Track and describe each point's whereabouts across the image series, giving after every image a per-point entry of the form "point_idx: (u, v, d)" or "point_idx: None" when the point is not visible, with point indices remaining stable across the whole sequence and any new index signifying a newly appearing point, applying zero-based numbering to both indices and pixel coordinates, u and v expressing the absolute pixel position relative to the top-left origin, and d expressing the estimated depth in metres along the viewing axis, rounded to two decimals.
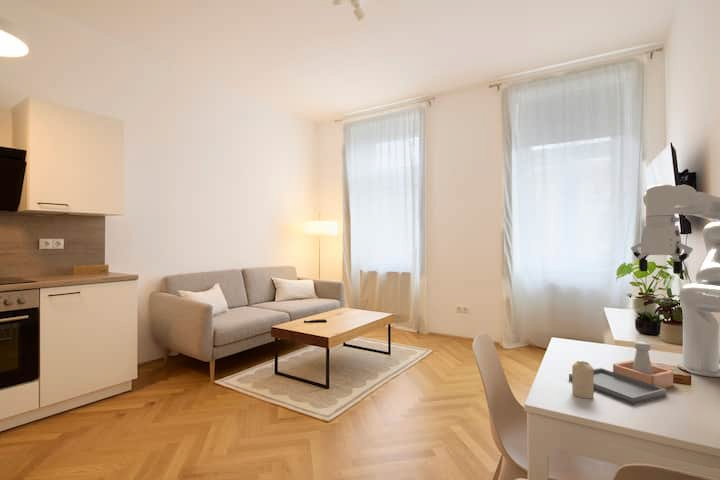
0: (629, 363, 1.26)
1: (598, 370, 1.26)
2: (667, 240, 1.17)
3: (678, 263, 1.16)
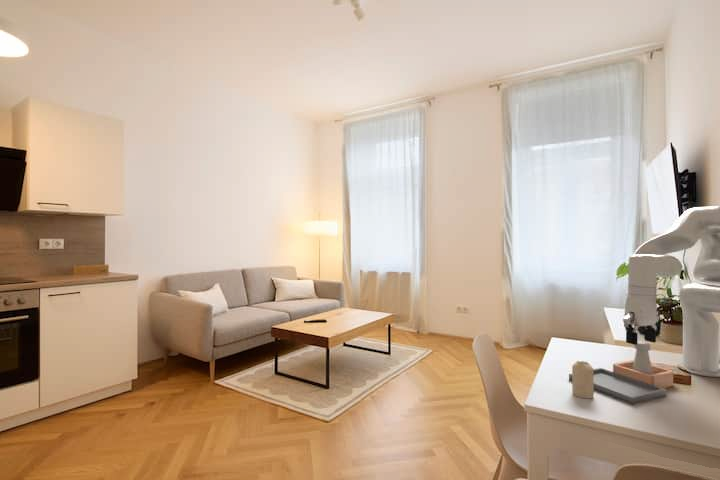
0: (629, 363, 1.26)
1: (598, 370, 1.26)
2: (655, 311, 1.20)
3: None
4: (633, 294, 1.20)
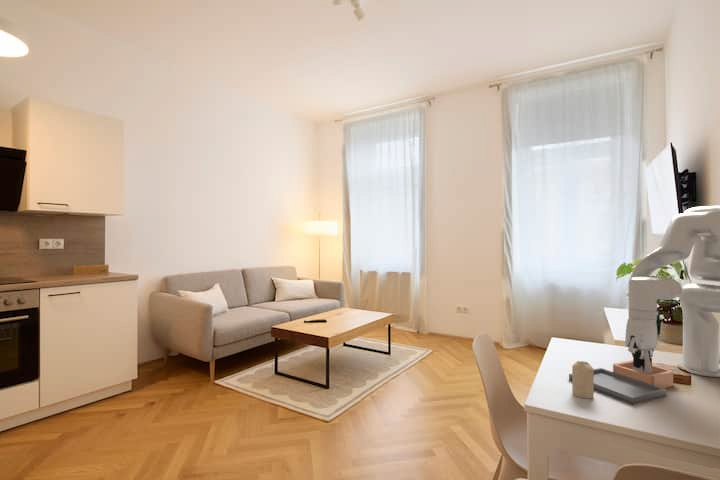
0: (629, 363, 1.26)
1: (598, 370, 1.26)
2: (656, 334, 1.20)
3: None
4: (633, 317, 1.20)
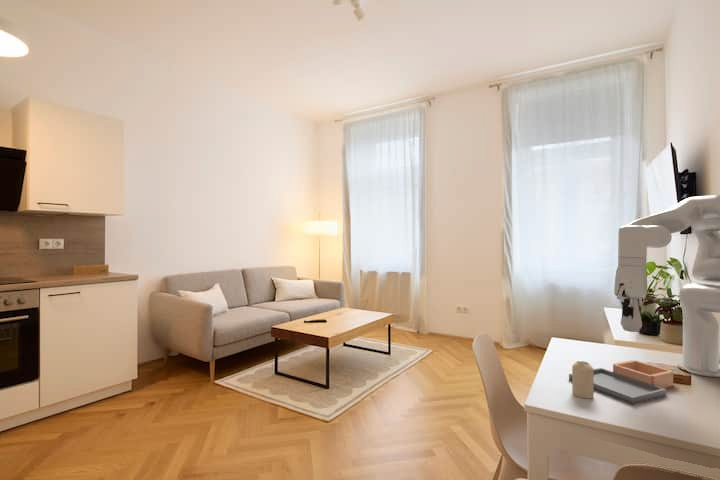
0: (629, 363, 1.26)
1: (598, 370, 1.26)
2: (645, 282, 1.18)
3: (639, 308, 1.19)
4: (623, 265, 1.18)
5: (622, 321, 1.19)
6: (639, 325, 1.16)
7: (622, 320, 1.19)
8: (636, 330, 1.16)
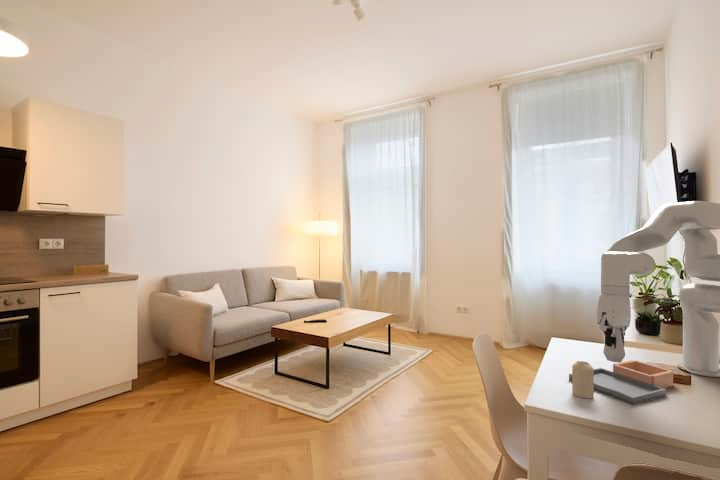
0: (629, 363, 1.26)
1: (598, 370, 1.26)
2: (628, 311, 1.14)
3: (622, 337, 1.15)
4: (605, 293, 1.14)
5: (605, 350, 1.15)
6: (622, 355, 1.12)
7: (605, 349, 1.15)
8: (619, 360, 1.13)
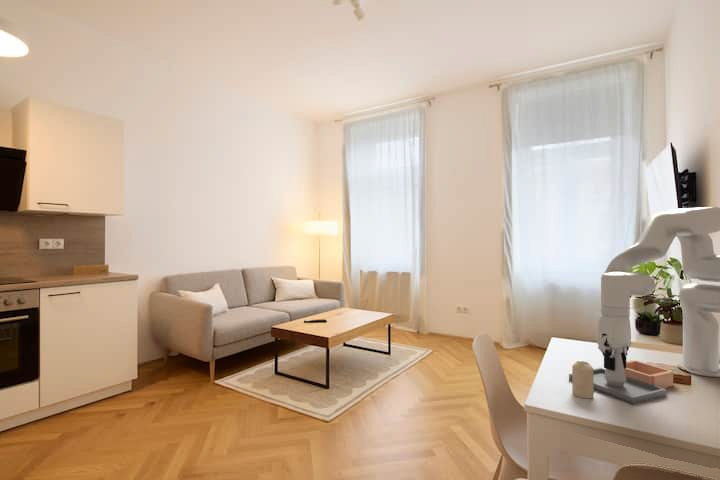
0: (629, 363, 1.26)
1: (598, 370, 1.26)
2: (629, 332, 1.14)
3: None
4: (606, 315, 1.14)
5: (606, 375, 1.16)
6: (623, 380, 1.13)
7: (606, 374, 1.16)
8: (620, 385, 1.13)
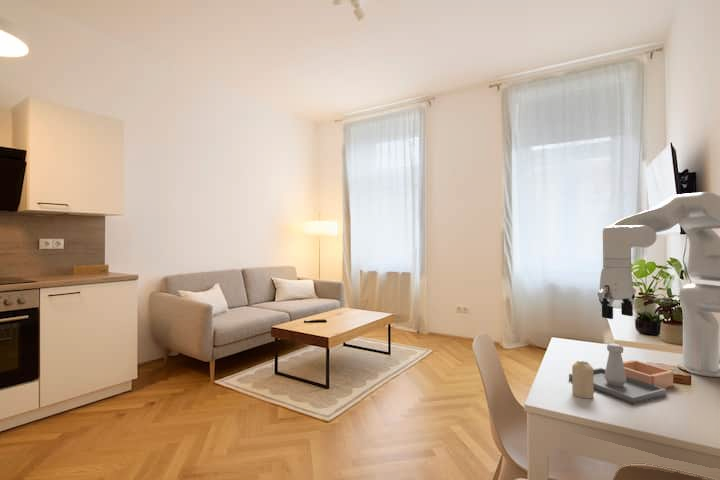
0: (629, 363, 1.26)
1: (598, 370, 1.26)
2: (630, 283, 1.15)
3: None
4: (608, 267, 1.15)
5: (606, 375, 1.16)
6: (623, 380, 1.13)
7: (606, 374, 1.16)
8: (620, 385, 1.13)
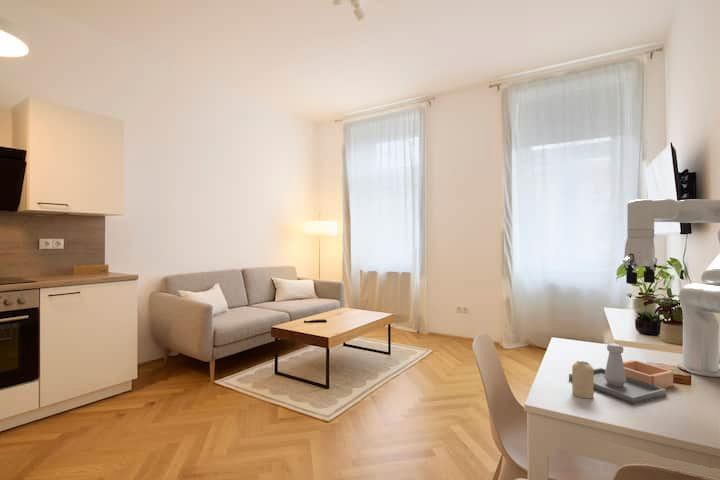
0: (629, 363, 1.26)
1: (598, 370, 1.26)
2: (653, 252, 1.26)
3: None
4: (632, 237, 1.26)
5: (606, 375, 1.16)
6: (623, 380, 1.13)
7: (606, 374, 1.16)
8: (620, 385, 1.13)
